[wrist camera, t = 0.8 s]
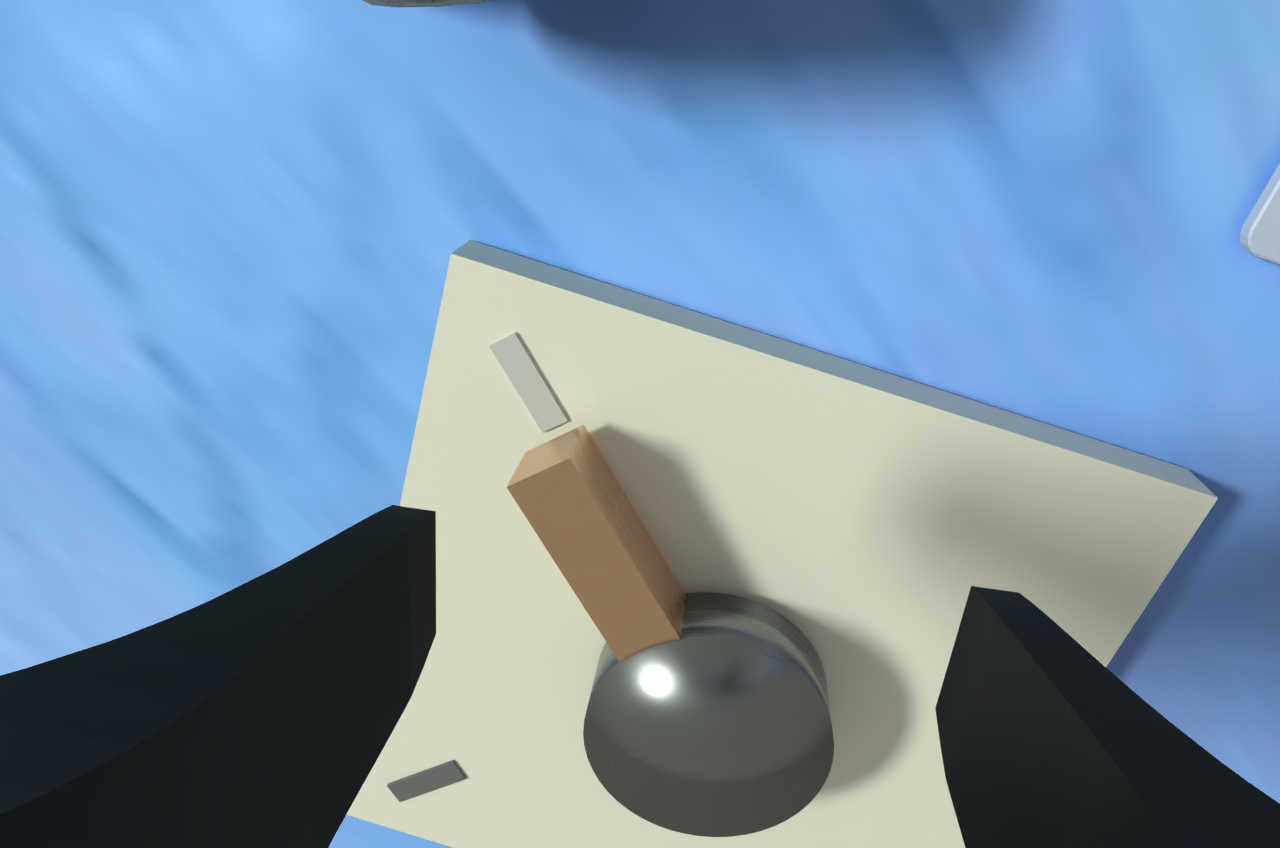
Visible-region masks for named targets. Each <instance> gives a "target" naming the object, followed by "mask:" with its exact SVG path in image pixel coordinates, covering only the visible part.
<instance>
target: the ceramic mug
mask: <svg viewBox="0 0 1280 848" xmlns="http://www.w3.org/2000/svg"><path fill="white" fill-rule="evenodd" d="M363 1H365V2H367V3H369V4H371V5H378V6H389V7H440V6H448V5H457V4H473V3H480V2H485V1H490V0H363Z"/></svg>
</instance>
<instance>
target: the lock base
mask: <svg viewBox="0 0 1280 848" xmlns="http://www.w3.org/2000/svg"><path fill="white" fill-rule="evenodd" d="M582 425H584V426H585V428H586V429H587V431H588V433H589V434H590V436H591V438H592V439H593V441H594V443H595V444H596V446H597V448H598V449H599V451H600V453H601V454H602V456H603V458H604V459H605V461H606V463H607V464H608V466H609V468H610V469H611V471H612V473H613V474H614V476H615V478H616V479H617V481H618V483H619V484H620V486H621V488H622V490H623V491H624V493H625V495H626V496H627V498H628V500H629V501H630V503H631V505H632V506H633V508H634V510H635V511H636V513H637V515H638V516H639V518H640V520H641V521H642V523H643V525H644V526H645V528H646V530H647V531H648V533H649V535H650V536H651V538H652V540H653V541H654V543H655V545H656V546H657V548H658V550H659V551H660V553H661V555H662V556H663V558H664V560H665V562H666V563H667V565H668V567H669V568H670V570H671V572H672V573H673V575H674V577H675V578H676V580H677V582H678V583H679V585H680V587H681V588H682V590H683V592H684V593H696V592H714V593H723V594H730V595H735V596H739V597H743V598H747V599H750V600H753V601H755V602H758V603H761V604H763V605H765V606H767V607H769V608H771V609H773V610H775V611H777V612H778V613H780V614H781V615H783V616H784V617H786V618H787V619H788V620H790V621H791V622H792V623H793V624H794V625H795V626H797V627H798V628H799V629H800V630H801V631H802V632H803V634H804V635H805V636H806V637H807V638H808V639H809V641H810V642H811V644H812V645H813V647H814V648H815V650H816V651H817V653H818V656H819V658H820V660H821V662H822V665H823V668H824V672H825V675H826V683H827V691H828V699H829V707H830V714H831V722H832V730H833V739H834V757H833V762H832V766H831V770H830V773H829V775H828V777H827V780H826V782H825V784H824V785H823V787H822V788H821V790H820V792H819V793H818V794H817V795H816V797H815V798H814V799H813V800H812V801H811V802H810V803H809V804H808V805H807V806H806V807H805V808H804V809H802V810H801V811H800V812H799V813H797V814H796V815H794V816H793V817H791V818H790V819H788V820H786V821H784V822H782V823H780V824H778V825H776V826H774V827H771V828H768V829H765V830H763V831H759V832H755V833H751V834H747V835H740V836H732V837H705V836H696V835H689V834H684V833H680V832H676V831H672V830H669V829H666V828H663V827H660V826H658V825H655V824H653V823H651V822H649V821H647V820H645V819H642V818H641V817H639V816H637V815H636V814H634V813H633V812H631V811H629V810H628V809H627V808H625V807H624V806H623V805H622V804H620V803H619V802H618V801H617V800H616V799H615V798H614V797H613V796H612V795H611V794H609V793H608V792H607V790H606V789H605V788H604V786H603V785H602V784H601V783H600V781H599V780H598V778H597V777H596V775H595V773H594V772H593V770H592V768H591V765H590V763H589V760H588V758H587V754H586V750H585V746H584V737H583V729H584V719H585V715H586V711H587V706H588V702H589V698H590V694H591V690H592V686H593V681H594V677H595V673H596V669H597V665H598V661H599V657H600V654H601V652H602V649H603V647H604V645H605V643H606V641H605V639H604V638H603V636H602V634H601V633H600V631H599V630H598V628H597V627H596V625H595V624H594V622H593V620H592V619H591V617H590V616H589V614H588V613H587V611H586V610H585V608H584V607H583V605H582V603H581V602H580V600H579V599H578V597H577V596H576V594H575V593H574V591H573V590H572V588H571V586H570V585H569V583H568V582H567V580H566V579H565V577H564V576H563V574H562V573H561V571H560V569H559V568H558V566H557V565H556V563H555V562H554V560H553V559H552V557H551V555H550V554H549V552H548V551H547V549H546V548H545V546H544V545H543V543H542V542H541V540H540V538H539V537H538V535H537V534H536V532H535V531H534V529H533V528H532V526H531V525H530V523H529V521H528V520H527V518H526V517H525V515H524V514H523V512H522V511H521V509H520V508H519V506H518V504H517V503H516V501H515V500H514V498H513V497H512V495H511V494H510V492H509V490H508V489H507V485H508V483H509V481H510V479H511V478H512V476H513V474H514V472H515V470H516V468H517V467H518V465H519V463H520V461H521V459H522V457H523V456H524V454H525V452H526V451H529V450H531V449H533V448H535V447H537V446H539V445H541V444H544V443H546V442H548V441H550V440H552V439H554V438H556V437H558V436H561V435H563V434H565V433H567V432H569V431H571V430H573V429H576V428H578V427H580V426H582ZM1217 499H1218V497H1217V496H1215V495H1214V494H1213V493H1212V492H1211V491H1210V490H1209V489H1208V488H1207V487H1206V486H1205V485H1204V484H1203V483H1202V482H1201V481H1200V480H1199V479H1198V478H1197V477H1195V476H1194V475H1193V474H1192V473H1191V472H1190V471H1189V470H1188V469H1187V468H1184V467H1180V466H1177V465H1174V464H1171V463H1168V462H1165V461H1162V460H1158V459H1155V458H1152V457H1149V456H1146V455H1143V454H1140V453H1137V452H1133V451H1130V450H1127V449H1124V448H1121V447H1118V446H1115V445H1111V444H1108V443H1105V442H1102V441H1099V440H1096V439H1093V438H1090V437H1086V436H1083V435H1080V434H1077V433H1074V432H1071V431H1068V430H1065V429H1061V428H1058V427H1055V426H1052V425H1049V424H1046V423H1043V422H1039V421H1036V420H1033V419H1030V418H1027V417H1024V416H1021V415H1018V414H1014V413H1011V412H1008V411H1005V410H1002V409H999V408H996V407H992V406H989V405H986V404H983V403H980V402H977V401H974V400H971V399H967V398H964V397H961V396H958V395H955V394H952V393H949V392H945V391H942V390H939V389H936V388H933V387H930V386H927V385H924V384H920V383H917V382H914V381H911V380H908V379H905V378H902V377H898V376H895V375H892V374H889V373H886V372H883V371H880V370H877V369H873V368H870V367H867V366H864V365H861V364H858V363H855V362H851V361H848V360H845V359H842V358H839V357H836V356H833V355H830V354H826V353H823V352H820V351H817V350H814V349H811V348H808V347H804V346H801V345H798V344H795V343H792V342H789V341H786V340H783V339H779V338H776V337H773V336H770V335H767V334H764V333H761V332H757V331H754V330H751V329H748V328H745V327H742V326H739V325H736V324H732V323H729V322H726V321H723V320H720V319H717V318H714V317H710V316H707V315H704V314H701V313H698V312H695V311H692V310H689V309H685V308H682V307H679V306H676V305H673V304H670V303H667V302H663V301H660V300H657V299H654V298H651V297H648V296H645V295H642V294H638V293H635V292H632V291H629V290H626V289H623V288H620V287H616V286H613V285H610V284H607V283H604V282H601V281H598V280H595V279H591V278H588V277H585V276H582V275H579V274H576V273H573V272H569V271H566V270H563V269H560V268H557V267H554V266H551V265H548V264H544V263H541V262H538V261H535V260H532V259H529V258H526V257H522V256H519V255H516V254H513V253H510V252H507V251H504V250H501V249H497V248H494V247H491V246H488V245H485V244H482V243H479V242H475V241H472V240H470V241H468V242H467V243H466V244H464V245H463V246H461V247H460V248H458V249H457V250H455V251H454V252H453V253H451V257H450V261H449V266H448V271H447V276H446V281H445V286H444V291H443V296H442V301H441V306H440V311H439V316H438V320H437V325H436V330H435V335H434V340H433V345H432V350H431V355H430V360H429V365H428V370H427V374H426V379H425V384H424V389H423V394H422V399H421V404H420V409H419V414H418V419H417V424H416V429H415V433H414V438H413V443H412V448H411V453H410V458H409V463H408V468H407V473H406V478H405V483H404V488H403V492H402V497H401V502H400V506H402V507H409V508H416V509H424V510H431V511H436V636H435V638H434V641H433V643H432V646H431V649H430V651H429V654H428V657H427V659H426V662H425V665H424V667H423V670H422V672H421V675H420V677H419V680H418V682H417V685H416V687H415V689H414V692H413V694H412V697H411V699H410V701H409V702H408V704H407V706H406V708H405V710H404V712H403V714H402V715H401V717H400V719H399V721H398V723H397V724H396V726H395V728H394V730H393V732H392V734H391V735H390V737H389V739H388V741H387V743H386V744H385V746H384V748H383V750H382V752H381V753H380V755H379V757H378V759H377V760H376V762H375V764H374V766H373V768H372V769H371V771H370V773H369V775H368V777H367V778H366V780H365V782H364V784H363V785H362V787H361V789H360V791H359V793H358V794H357V796H356V798H355V800H354V801H353V803H352V805H351V807H350V809H349V810H348V812H347V814H346V815H349V816H352V817H356V818H359V819H362V820H365V821H369V822H372V823H375V824H378V825H382V826H385V827H388V828H391V829H395V830H398V831H401V832H404V833H408V834H411V835H414V836H417V837H421V838H424V839H427V840H430V841H434V842H437V843H440V844H443V845H447V846H450V847H453V848H965V845H964V841H963V838H962V834H961V831H960V828H959V824H958V821H957V817H956V814H955V810H954V807H953V803H952V800H951V796H950V792H949V789H948V785H947V782H946V777H945V771H944V765H943V759H942V753H941V746H940V739H939V732H938V724H937V717H936V710H935V708H936V704H937V701H938V697H939V694H940V691H941V687H942V684H943V680H944V677H945V674H946V670H947V667H948V663H949V660H950V657H951V653H952V650H953V646H954V643H955V640H956V636H957V633H958V629H959V626H960V623H961V619H962V616H963V612H964V609H965V606H966V602H967V599H968V595H969V592H970V588H971V586H975V587H982V588H989V589H997V590H1004V591H1011V592H1018V593H1020V594H1021V595H1023V596H1024V597H1025V598H1027V599H1028V600H1029V601H1031V602H1032V603H1033V604H1034V605H1035V606H1037V607H1038V608H1039V609H1040V610H1041V611H1043V612H1044V613H1045V614H1046V615H1047V616H1048V617H1050V618H1051V619H1052V620H1053V621H1054V622H1055V623H1056V624H1057V625H1059V626H1060V627H1061V628H1062V629H1063V630H1064V631H1065V632H1067V633H1068V634H1069V635H1070V636H1071V637H1072V638H1073V639H1074V640H1075V641H1077V642H1078V643H1079V644H1080V645H1081V646H1082V647H1083V648H1084V649H1086V650H1087V651H1088V652H1089V653H1090V654H1091V655H1092V656H1093V657H1094V658H1096V659H1097V660H1098V661H1099V662H1100V663H1101V664H1102V665H1104V666H1105V667H1107V665H1108V664H1109V662H1110V661H1111V659H1112V658H1113V656H1114V655H1115V653H1116V652H1117V650H1118V649H1119V647H1120V645H1121V644H1122V642H1123V641H1124V639H1125V638H1126V636H1127V635H1128V633H1129V632H1130V630H1131V629H1132V627H1133V626H1134V624H1135V623H1136V621H1137V620H1138V618H1139V617H1140V615H1141V614H1142V612H1143V611H1144V609H1145V608H1146V606H1147V605H1148V603H1149V602H1150V600H1151V599H1152V597H1153V596H1154V594H1155V593H1156V591H1157V590H1158V588H1159V587H1160V585H1161V584H1162V582H1163V581H1164V579H1165V578H1166V576H1167V575H1168V573H1169V572H1170V570H1171V569H1172V567H1173V566H1174V564H1175V562H1176V561H1177V559H1178V558H1179V556H1180V555H1181V553H1182V552H1183V550H1184V549H1185V547H1186V546H1187V544H1188V543H1189V541H1190V540H1191V538H1192V537H1193V535H1194V534H1195V532H1196V531H1197V529H1198V528H1199V526H1200V525H1201V523H1202V522H1203V520H1204V519H1205V517H1206V516H1207V514H1208V513H1209V511H1210V510H1211V508H1212V507H1213V505H1214V504H1215V502H1216V501H1217Z"/></svg>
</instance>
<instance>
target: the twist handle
mask: <svg viewBox="0 0 1280 848" xmlns="http://www.w3.org/2000/svg"><path fill="white" fill-rule="evenodd" d="M507 489H508V490H509V492H510V494H511V495H512V497H513V498H514V500H515V501H516V503H517V504H518V506H519V508H520V509H521V511H522V512H523V514H524V515H525V517H526V518H527V520H528V521H529V523H530V525H531V526H532V528H533V529H534V531H535V532H536V534H537V535H538V537H539V538H540V540H541V542H542V543H543V545H544V546H545V548H546V549H547V551H548V552H549V554H550V555H551V557H552V559H553V560H554V562H555V563H556V565H557V566H558V568H559V569H560V571H561V573H562V574H563V576H564V577H565V579H566V580H567V582H568V583H569V585H570V586H571V588H572V590H573V591H574V593H575V594H576V596H577V597H578V599H579V600H580V602H581V603H582V605H583V607H584V608H585V610H586V611H587V613H588V614H589V616H590V617H591V619H592V620H593V622H594V624H595V625H596V627H597V628H598V630H599V631H600V633H601V634H602V636H603V638H604V639H605V641H606V643H605V645H604V647H603V649H602V652H601V654H600V657H599V661H598V665H597V669H596V673H595V677H594V681H593V686H592V690H591V694H590V698H589V702H588V706H587V711H586V715H585V719H584V729H583V737H584V746H585V750H586V754H587V758H588V760H589V763H590V765H591V768H592V770H593V772H594V773H595V775H596V777H597V778H598V780H599V781H600V783H601V784H602V785H603V786H604V788H605V789H606V790H607V792H608V793H609V794H611V795H612V796H613V797H614V798H615V799H616V800H617V801H618V802H619V803H620V804H622V805H623V806H624V807H625V808H627V809H628V810H629V811H631V812H633V813H634V814H636V815H637V816H639V817H641V818H642V819H645V820H647V821H649V822H651V823H653V824H655V825H658V826H660V827H663V828H666V829H669V830H672V831H676V832H680V833H684V834H689V835H696V836H705V837H732V836H740V835H747V834H751V833H755V832H759V831H763V830H765V829H768V828H771V827H774V826H776V825H778V824H780V823H782V822H784V821H786V820H788V819H790V818H791V817H793V816H794V815H796V814H797V813H799V812H800V811H801V810H802V809H804V808H805V807H806V806H807V805H808V804H809V803H810V802H811V801H812V800H813V799H814V798H815V797H816V795H817V794H818V793H819V792H820V790H821V788H822V787H823V785H824V784H825V782H826V780H827V777H828V775H829V773H830V770H831V766H832V762H833V757H834V739H833V730H832V722H831V714H830V707H829V699H828V691H827V683H826V675H825V672H824V668H823V665H822V662H821V660H820V658H819V656H818V653H817V651H816V650H815V648H814V647H813V645H812V644H811V642H810V641H809V639H808V638H807V637H806V636H805V635H804V634H803V632H802V631H801V630H800V629H799V628H798V627H797V626H795V625H794V624H793V623H792V622H791V621H790V620H788V619H787V618H786V617H784V616H783V615H781V614H780V613H778V612H777V611H775V610H773V609H771V608H769V607H767V606H765V605H763V604H761V603H758V602H755V601H753V600H750V599H747V598H743V597H739V596H735V595H730V594H723V593H714V592H696V593H684V592H683V590H682V588H681V587H680V585H679V583H678V582H677V580H676V578H675V577H674V575H673V573H672V572H671V570H670V568H669V567H668V565H667V563H666V562H665V560H664V558H663V556H662V555H661V553H660V551H659V550H658V548H657V546H656V545H655V543H654V541H653V540H652V538H651V536H650V535H649V533H648V531H647V530H646V528H645V526H644V525H643V523H642V521H641V520H640V518H639V516H638V515H637V513H636V511H635V510H634V508H633V506H632V505H631V503H630V501H629V500H628V498H627V496H626V495H625V493H624V491H623V490H622V488H621V486H620V484H619V483H618V481H617V479H616V478H615V476H614V474H613V473H612V471H611V469H610V468H609V466H608V464H607V463H606V461H605V459H604V458H603V456H602V454H601V453H600V451H599V449H598V448H597V446H596V444H595V443H594V441H593V439H592V438H591V436H590V434H589V433H588V431H587V429H586V428H585V426H584V425H582V426H580V427H578V428H576V429H573V430H571V431H569V432H567V433H565V434H563V435H561V436H558V437H556V438H554V439H552V440H550V441H548V442H546V443H544V444H541V445H539V446H537V447H535V448H533V449H531V450H529V451H526V452H525V454H524V456H523V457H522V459H521V461H520V463H519V465H518V467H517V468H516V470H515V472H514V474H513V476H512V478H511V479H510V481H509V483H508V485H507Z"/></svg>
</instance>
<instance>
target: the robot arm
mask: <svg viewBox="0 0 1280 848" xmlns="http://www.w3.org/2000/svg"><path fill="white" fill-rule="evenodd" d="M1240 243H1241V245H1242V246H1243V248H1244V250H1245V251H1247V252H1249V253H1251V254H1252V255H1255V256H1257V257H1260V258H1263V259H1266V260H1269V261H1272V262H1275V263H1278V264H1280V163H1279V165H1278V167H1277V168H1276V170H1275V172H1274V174H1273V175H1272V177H1271V179H1270V180H1269V182H1268V184H1267V185H1266V187H1265V189H1264V191H1263V192H1262V194H1261V196H1260V197H1259V199H1258V201H1257V203H1256V204H1255V206H1254V208H1253V209H1252V211H1251V213H1250V214H1249V216H1248V218H1247V220H1246V221H1245V223H1244V225H1243V227H1242V230H1241V233H1240ZM435 636H436V511H431V510H424V509H416V508H409V507H402V506H395V505H392V506H390V507H388V508H385V509H383V510H381V511H379V512H377V513H375V514H373V515H372V516H370V517H368V518H366V519H364V520H362V521H361V522H359V523H357V524H355V525H353V526H352V527H350V528H348V529H346V530H344V531H343V532H341V533H339V534H337V535H335V536H334V537H332V538H330V539H328V540H327V541H325V542H323V543H321V544H319V545H317V546H316V547H314V548H312V549H310V550H308V551H307V552H305V553H303V554H301V555H299V556H297V557H296V558H294V559H292V560H290V561H288V562H286V563H285V564H283V565H281V566H279V567H277V568H275V569H273V570H271V571H269V572H267V573H265V574H263V575H261V576H259V577H257V578H255V579H253V580H251V581H249V582H247V583H245V584H243V585H241V586H239V587H237V588H235V589H233V590H231V591H229V592H227V593H225V594H223V595H221V596H219V597H217V598H214V599H212V600H210V601H208V602H206V603H204V604H202V605H199V606H197V607H195V608H193V609H190V610H188V611H186V612H183V613H181V614H179V615H176V616H174V617H172V618H169V619H167V620H164V621H161V622H159V623H156V624H154V625H151V626H149V627H146V628H144V629H141V630H139V631H136V632H134V633H131V634H128V635H126V636H123V637H120V638H118V639H115V640H112V641H109V642H106V643H103V644H100V645H97V646H94V647H91V648H88V649H85V650H81V651H78V652H75V653H72V654H69V655H66V656H63V657H60V658H57V659H54V660H51V661H48V662H44V663H41V664H38V665H35V666H32V667H29V668H26V669H22V670H19V671H15V672H12V673H8V674H5V675H1V676H0V848H328V847H329V845H330V843H331V841H332V839H333V837H334V835H335V834H336V832H337V830H338V828H339V826H340V825H341V823H342V821H343V819H344V818H345V816H346V814H347V812H348V810H349V809H350V807H351V805H352V803H353V801H354V800H355V798H356V796H357V794H358V793H359V791H360V789H361V787H362V785H363V784H364V782H365V780H366V778H367V777H368V775H369V773H370V771H371V769H372V768H373V766H374V764H375V762H376V760H377V759H378V757H379V755H380V753H381V752H382V750H383V748H384V746H385V744H386V743H387V741H388V739H389V737H390V735H391V734H392V732H393V730H394V728H395V726H396V724H397V723H398V721H399V719H400V717H401V715H402V714H403V712H404V710H405V708H406V706H407V704H408V702H409V701H410V699H411V697H412V694H413V692H414V689H415V687H416V685H417V682H418V680H419V677H420V675H421V672H422V670H423V667H424V665H425V662H426V659H427V657H428V654H429V651H430V649H431V646H432V643H433V641H434V638H435ZM935 710H936V717H937V724H938V732H939V739H940V746H941V753H942V759H943V765H944V771H945V777H946V782H947V785H948V789H949V792H950V796H951V800H952V803H953V807H954V810H955V814H956V817H957V821H958V824H959V828H960V831H961V834H962V838H963V841H964V845H965V848H1280V804H1279V803H1278V802H1276V801H1275V800H1273V799H1272V798H1270V797H1269V796H1267V795H1266V794H1265V793H1263V792H1262V791H1260V790H1259V789H1257V788H1256V787H1254V786H1253V785H1252V784H1250V783H1249V782H1247V781H1246V780H1244V779H1243V778H1242V777H1240V776H1239V775H1238V774H1236V773H1235V772H1234V771H1232V770H1231V769H1230V768H1228V767H1227V766H1225V765H1224V764H1223V763H1221V762H1220V761H1219V760H1217V759H1216V758H1215V757H1214V756H1212V755H1211V754H1210V753H1208V752H1207V751H1206V750H1205V749H1203V748H1202V747H1201V746H1200V745H1198V744H1197V743H1196V742H1195V741H1193V740H1192V739H1191V738H1189V737H1188V736H1187V735H1186V734H1184V733H1183V732H1182V731H1181V730H1179V729H1178V728H1177V727H1175V726H1174V725H1173V724H1172V723H1170V722H1169V721H1168V720H1167V719H1166V718H1164V717H1163V716H1162V715H1161V714H1160V713H1158V712H1157V711H1156V710H1155V709H1154V708H1152V707H1151V706H1150V705H1149V704H1147V703H1146V702H1145V701H1144V700H1143V699H1142V698H1140V697H1139V696H1138V695H1137V694H1136V693H1135V692H1133V691H1132V690H1131V689H1130V688H1129V687H1128V686H1126V685H1125V684H1124V683H1123V682H1122V681H1121V680H1119V679H1118V678H1117V677H1116V676H1115V675H1114V674H1113V673H1111V672H1110V671H1109V670H1108V669H1107V668H1106V667H1105V666H1104V665H1102V664H1101V663H1100V662H1099V661H1098V660H1097V659H1096V658H1094V657H1093V656H1092V655H1091V654H1090V653H1089V652H1088V651H1087V650H1086V649H1084V648H1083V647H1082V646H1081V645H1080V644H1079V643H1078V642H1077V641H1075V640H1074V639H1073V638H1072V637H1071V636H1070V635H1069V634H1068V633H1067V632H1065V631H1064V630H1063V629H1062V628H1061V627H1060V626H1059V625H1057V624H1056V623H1055V622H1054V621H1053V620H1052V619H1051V618H1050V617H1048V616H1047V615H1046V614H1045V613H1044V612H1043V611H1041V610H1040V609H1039V608H1038V607H1037V606H1035V605H1034V604H1033V603H1032V602H1031V601H1029V600H1028V599H1027V598H1025V597H1024V596H1023V595H1021V594H1020V593H1018V592H1011V591H1004V590H997V589H989V588H982V587H975V586H971V588H970V592H969V595H968V599H967V602H966V606H965V609H964V612H963V616H962V619H961V623H960V626H959V629H958V633H957V636H956V640H955V643H954V646H953V650H952V653H951V657H950V660H949V663H948V667H947V670H946V674H945V677H944V680H943V684H942V687H941V691H940V694H939V697H938V701H937V704H936V708H935Z"/></svg>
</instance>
